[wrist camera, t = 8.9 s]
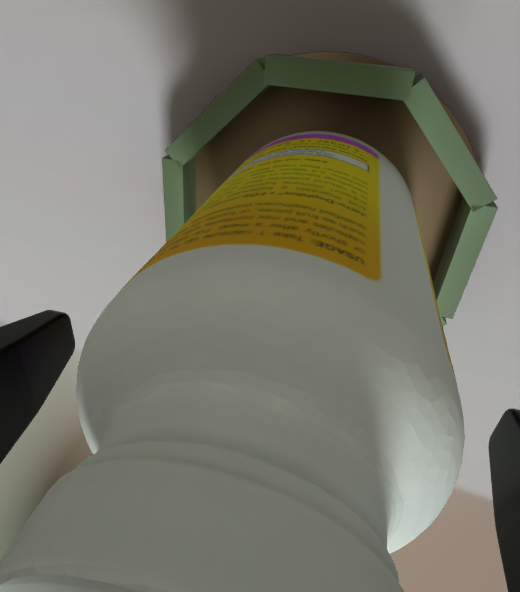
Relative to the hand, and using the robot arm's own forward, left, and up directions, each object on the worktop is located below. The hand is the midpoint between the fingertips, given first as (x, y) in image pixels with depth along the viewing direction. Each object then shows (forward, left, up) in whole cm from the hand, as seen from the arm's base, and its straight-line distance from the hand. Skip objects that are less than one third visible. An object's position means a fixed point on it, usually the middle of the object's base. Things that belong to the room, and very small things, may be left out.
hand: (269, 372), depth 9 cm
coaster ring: (0, 0, -8) cm, 8 cm away
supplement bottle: (0, 0, -8) cm, 8 cm away
